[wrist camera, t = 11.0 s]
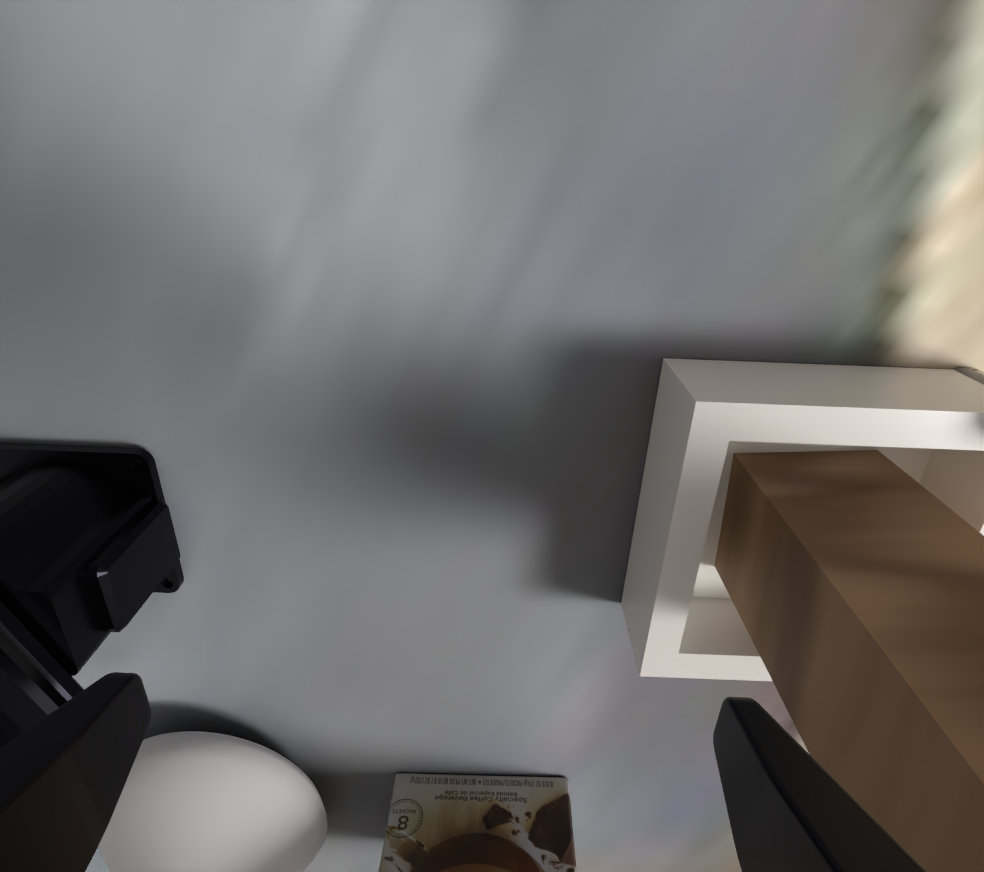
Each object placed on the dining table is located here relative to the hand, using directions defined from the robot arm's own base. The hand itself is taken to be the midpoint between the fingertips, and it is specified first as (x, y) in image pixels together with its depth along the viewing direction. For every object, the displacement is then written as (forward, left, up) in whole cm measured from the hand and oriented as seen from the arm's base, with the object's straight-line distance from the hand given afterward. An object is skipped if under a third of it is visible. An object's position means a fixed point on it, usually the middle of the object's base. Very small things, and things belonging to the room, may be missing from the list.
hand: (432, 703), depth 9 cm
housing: (+12, -4, -13) cm, 18 cm away
